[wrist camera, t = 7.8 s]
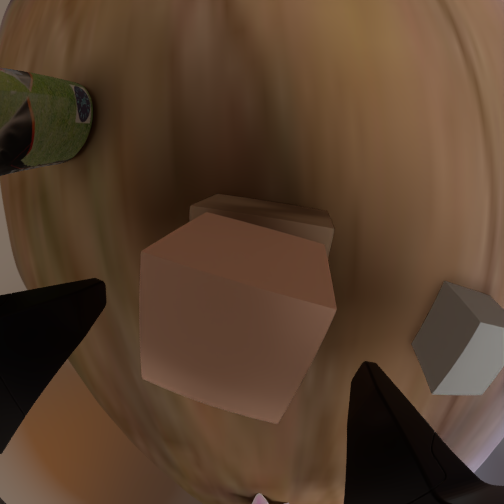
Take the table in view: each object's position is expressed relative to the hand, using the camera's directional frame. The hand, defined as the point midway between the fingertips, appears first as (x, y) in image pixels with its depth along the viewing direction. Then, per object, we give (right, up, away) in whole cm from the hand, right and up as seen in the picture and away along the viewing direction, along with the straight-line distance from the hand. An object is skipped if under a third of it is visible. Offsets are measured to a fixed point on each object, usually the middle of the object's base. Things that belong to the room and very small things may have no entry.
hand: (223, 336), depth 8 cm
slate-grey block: (+15, -2, +6) cm, 16 cm away
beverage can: (-12, +12, +7) cm, 18 cm away
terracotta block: (+1, +1, +4) cm, 4 cm away
